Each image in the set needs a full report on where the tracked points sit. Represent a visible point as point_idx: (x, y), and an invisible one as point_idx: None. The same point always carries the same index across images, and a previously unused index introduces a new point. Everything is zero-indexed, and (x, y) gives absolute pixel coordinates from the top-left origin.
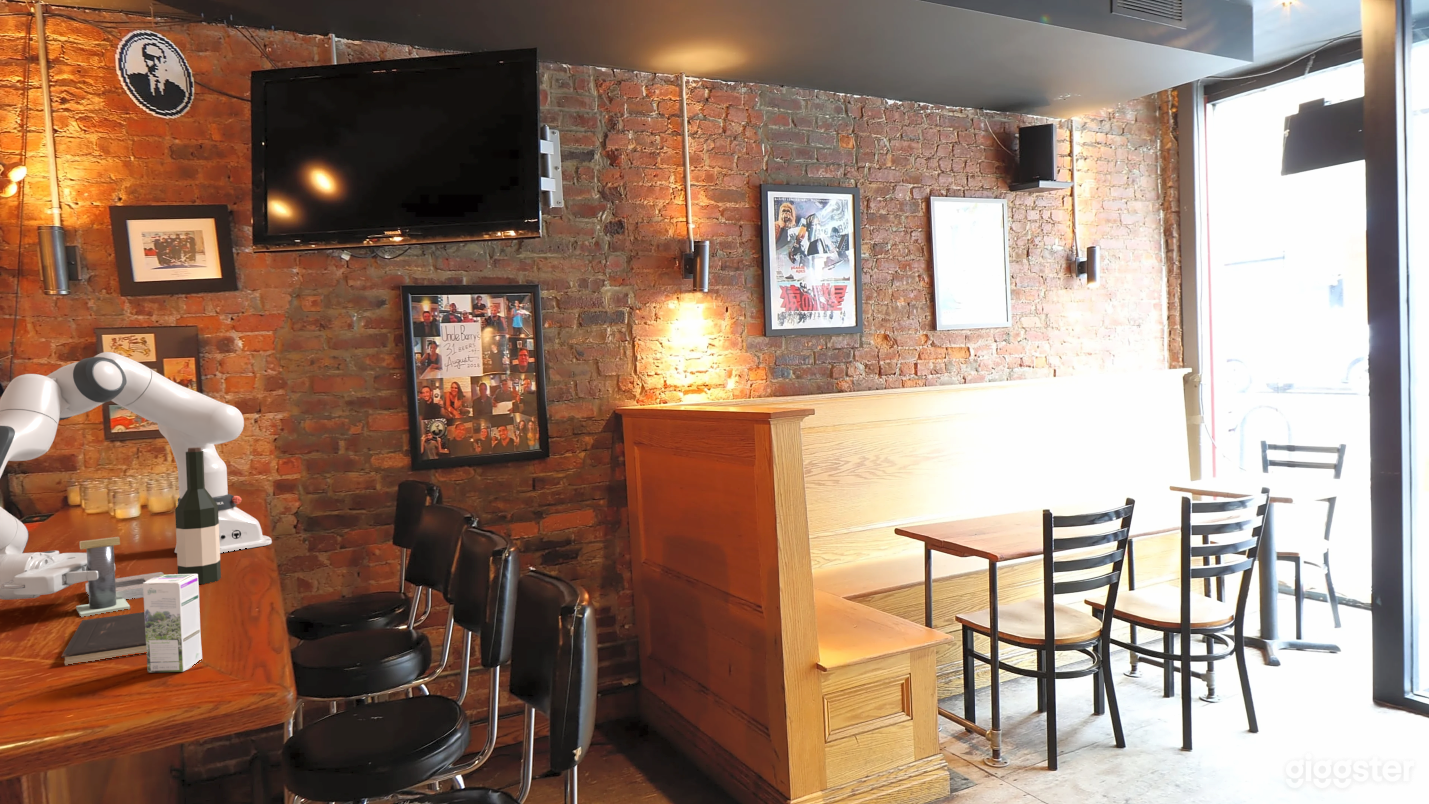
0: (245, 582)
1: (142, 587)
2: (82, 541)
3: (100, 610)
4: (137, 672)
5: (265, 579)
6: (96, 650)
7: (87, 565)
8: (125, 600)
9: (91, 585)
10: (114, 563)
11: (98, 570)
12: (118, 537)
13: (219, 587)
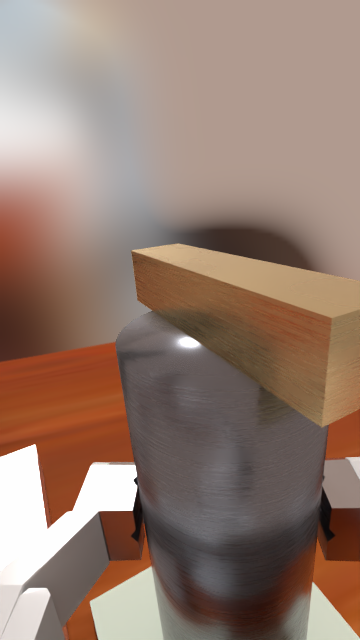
0: (45, 372)
1: (39, 521)
2: (338, 297)
3: (327, 616)
4: None
5: (43, 356)
6: None
7: (292, 530)
8: (141, 573)
9: (310, 600)
10: (94, 463)
11: (325, 458)
12: (168, 245)
13: (61, 395)
